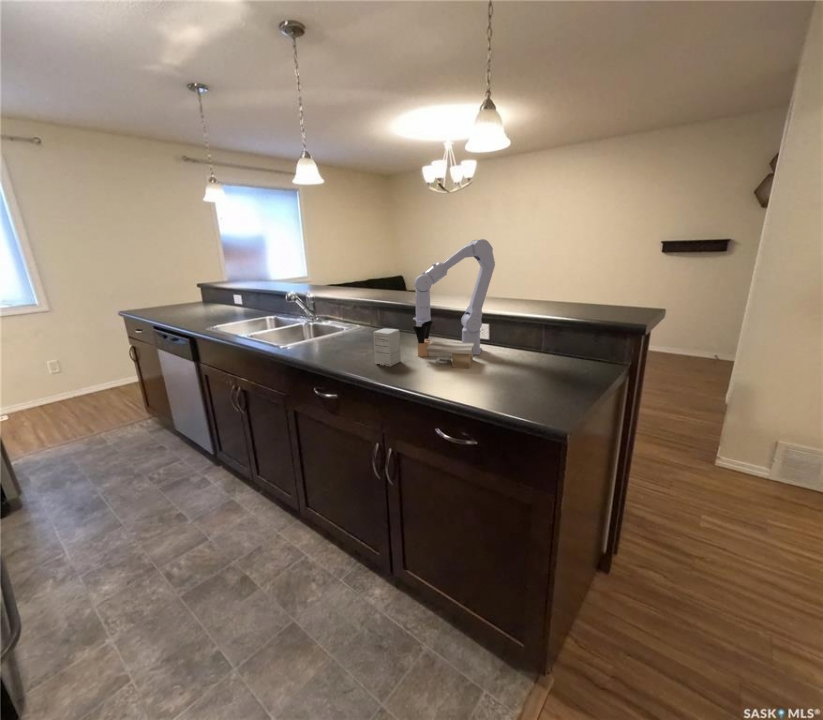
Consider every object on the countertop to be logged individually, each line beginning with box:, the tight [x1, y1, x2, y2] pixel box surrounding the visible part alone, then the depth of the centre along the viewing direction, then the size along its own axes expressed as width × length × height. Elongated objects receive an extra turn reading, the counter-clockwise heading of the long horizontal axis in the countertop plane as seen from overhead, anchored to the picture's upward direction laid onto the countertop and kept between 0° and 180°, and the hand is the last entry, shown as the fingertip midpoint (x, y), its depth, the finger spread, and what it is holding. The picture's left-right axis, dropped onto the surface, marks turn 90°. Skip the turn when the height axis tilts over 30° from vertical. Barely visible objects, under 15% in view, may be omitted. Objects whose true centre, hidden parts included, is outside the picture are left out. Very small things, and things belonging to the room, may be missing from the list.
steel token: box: [435, 356, 452, 365], centre depth 146 cm, size 6×6×2 cm
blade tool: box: [417, 339, 452, 358], centre depth 154 cm, size 4×14×6 cm, turn 75°
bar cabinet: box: [426, 341, 474, 369], centre depth 144 cm, size 11×16×7 cm
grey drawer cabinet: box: [372, 327, 402, 367], centre depth 145 cm, size 7×7×13 cm
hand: (423, 340), depth 155 cm, fingers open, 7 cm apart
